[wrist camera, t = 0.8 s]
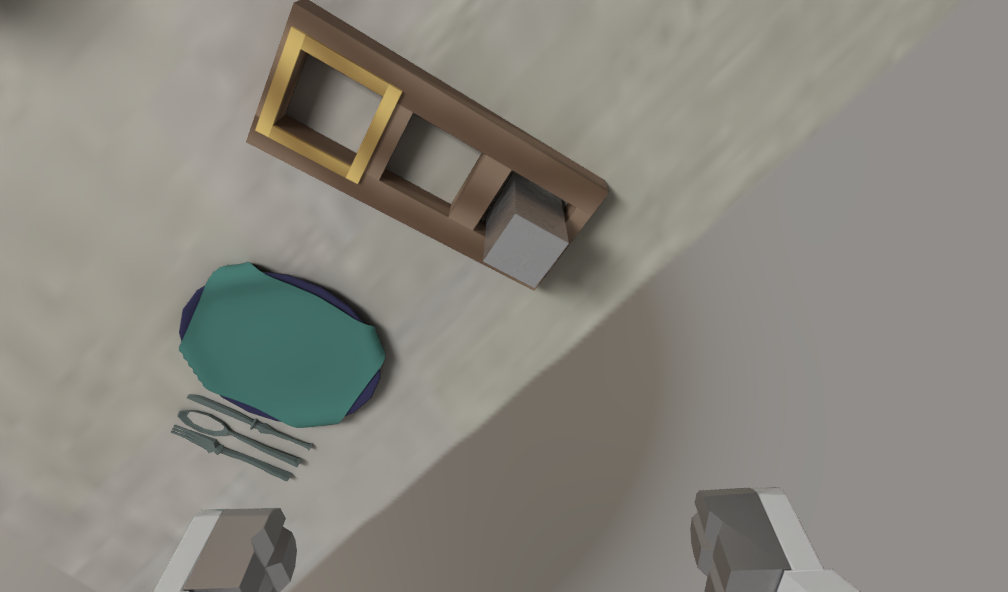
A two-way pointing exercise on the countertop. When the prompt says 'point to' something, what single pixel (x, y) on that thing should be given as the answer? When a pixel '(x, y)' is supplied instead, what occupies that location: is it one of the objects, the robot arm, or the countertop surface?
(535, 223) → the steel block
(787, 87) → the countertop surface
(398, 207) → the walnut rail
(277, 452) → the cutlery set
